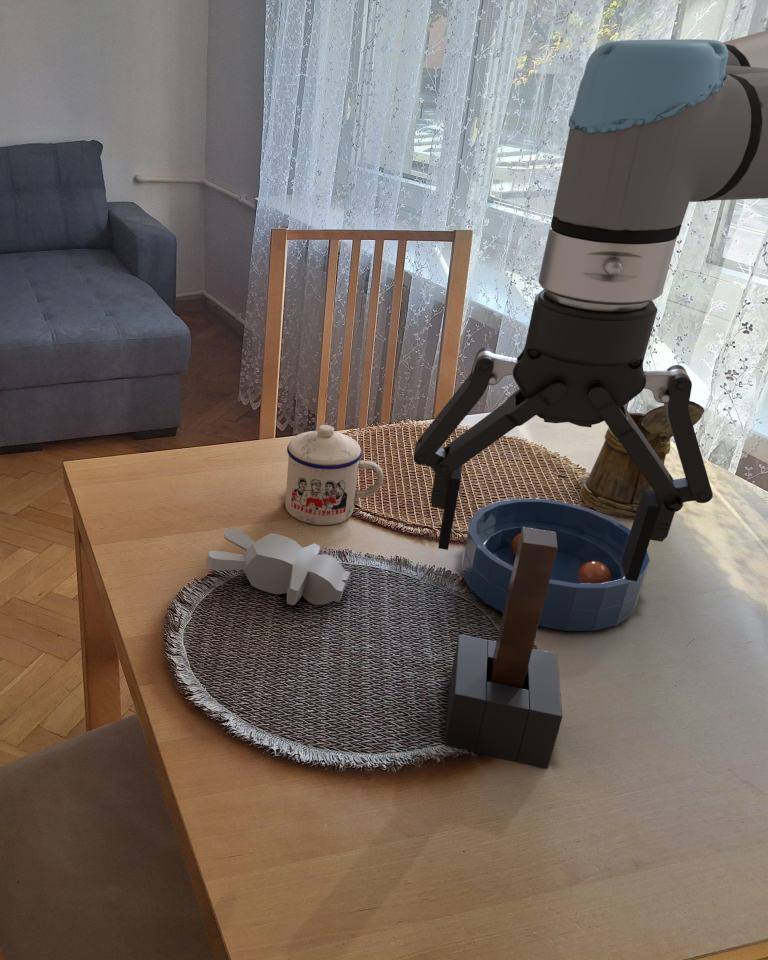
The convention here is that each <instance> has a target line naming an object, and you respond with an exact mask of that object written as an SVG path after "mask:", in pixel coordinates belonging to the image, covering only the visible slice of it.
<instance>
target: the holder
mask: <svg viewBox="0 0 768 960" xmlns="http://www.w3.org/2000/svg"><path fill="white" fill-rule="evenodd" d="M496 642H497V641H495V640H489V639H485V638H480V637H474V636H469V635H464V634H458V635H457V642H456V647H455V651H454V657H453V662H452V666H451V671H450V672H451V673H450V677H449V682H448V694H447V708H446V718H445V720H446V721H445V731H444V733H445V735H444V746H446V747H451V748H456V749H460V750H464V751H468V752H473V753H477V754H481V755H485V756H489V757H494V758H498V759H502V760H507V761H512V762H517V763H520V764H525V765H528V766H533V767H536V768H537V767H538V768H541V769H549V766H550V763H551V759H552V755H553V752H554V748H555V745H556V741H557V738H558V734H559V730H560V727H561V723H562V720H563V717H564V716H563V707H562V706H563V705H562V696H561V694H562V693H561V684H560V682H561V681H560V672H559V658H558V653H557V652H552V651H547V650H541V649H536V648H533V649H532V653H531V657H530V661H529V665H528V669H527V673H526V677H525V681H524V685H523V689H521V688H516V687H512V686H507V685H502V684H497V683H492V682H488V678H489V673H490V669H491V664H492V660H493V655H494V651H495V646H496Z"/></svg>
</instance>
